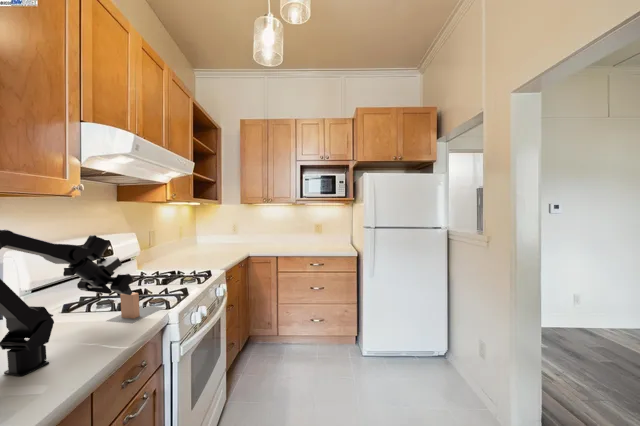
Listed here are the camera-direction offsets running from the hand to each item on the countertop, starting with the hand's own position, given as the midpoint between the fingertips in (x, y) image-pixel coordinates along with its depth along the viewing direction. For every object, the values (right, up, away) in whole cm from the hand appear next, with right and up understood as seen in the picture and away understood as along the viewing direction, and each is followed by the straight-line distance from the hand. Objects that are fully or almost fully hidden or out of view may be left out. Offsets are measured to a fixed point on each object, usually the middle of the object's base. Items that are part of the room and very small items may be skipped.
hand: (121, 293), depth 108 cm
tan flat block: (+1, -10, +4) cm, 11 cm away
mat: (+2, -10, +7) cm, 12 cm away
